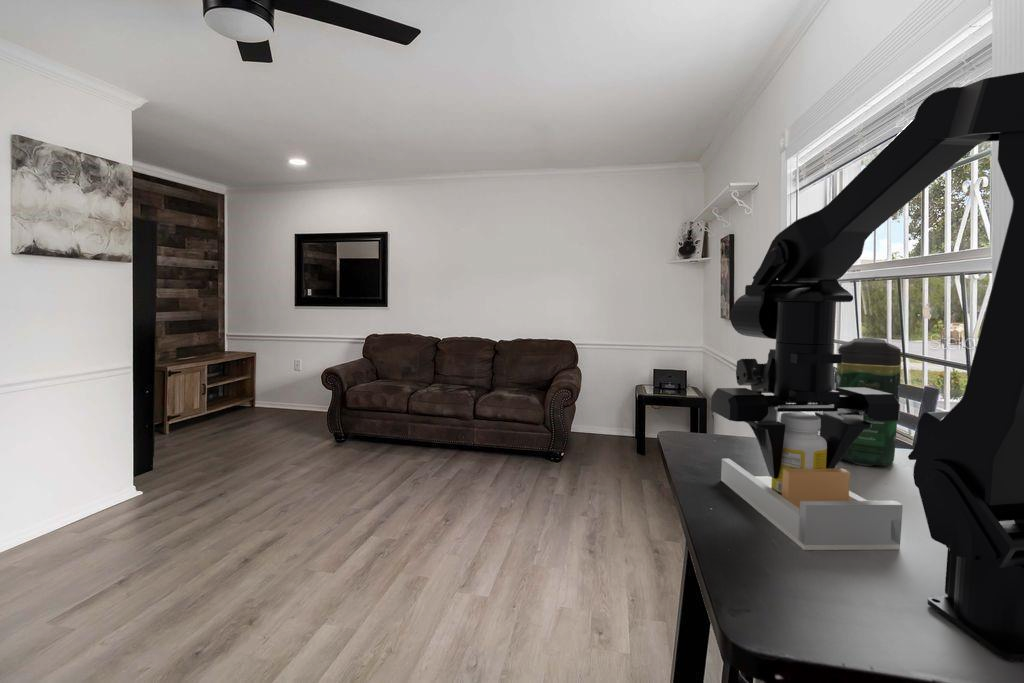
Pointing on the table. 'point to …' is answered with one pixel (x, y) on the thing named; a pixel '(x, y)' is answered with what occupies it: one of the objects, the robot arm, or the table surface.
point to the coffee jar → (879, 371)
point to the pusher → (815, 485)
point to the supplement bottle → (801, 445)
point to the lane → (820, 515)
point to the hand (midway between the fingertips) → (798, 477)
